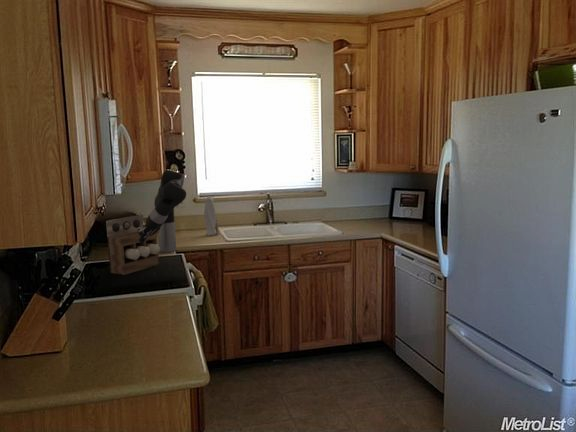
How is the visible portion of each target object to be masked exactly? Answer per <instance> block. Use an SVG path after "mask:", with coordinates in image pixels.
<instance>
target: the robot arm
mask: <svg viewBox="0 0 576 432" xmlns="http://www.w3.org/2000/svg"><path fill="white" fill-rule="evenodd" d="M184 181H185V176H184V174H183V173H181V172H178V171H173V170H169V169H167V170H164V171H163V172H162V175H161V178H160V185H159V186H158V187H159V188H158V191H157V194H156V196H155V197H154V202H153V203H154V208H153V209H152V210H151V211H150V213H149V215H148V216H147V217H146V219H145V223H144V226H143V228H142V229H140V228H139V229H138V233H139V235H140V236H141V237H140V239H139V241H140V242H141V243H143V242H144V241H145V240H146V238H148V237H149V236H152V235H153V234H155V233H156V232H159V234H158V235H157V241H158V245H159V247H160V251H159V252H161V253H173V252H176V251H177V241H176V240H177V238H176V226H175V225H176V224H175V208H176V207H177V206H179V205H180V204H181V203H182V202H184V200H185V199H186V197H187V191H186V190H185V189H184V188H183V185H184Z"/></svg>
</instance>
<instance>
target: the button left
mask: <svg viewBox="0 0 576 432" xmlns="http://www.w3.org/2000/svg"><path fill="white" fill-rule="evenodd" d="M139 256H140V252H139V250H137V249H129V248H125V249H124V258H127V259H135V260H136V259H138V258H139Z"/></svg>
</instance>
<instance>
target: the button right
mask: <svg viewBox="0 0 576 432" xmlns="http://www.w3.org/2000/svg"><path fill="white" fill-rule="evenodd" d="M146 247H149V249H150V254H158V255H159V252H161V251H160V247H159V244H158V243H157V244H148V243H146Z"/></svg>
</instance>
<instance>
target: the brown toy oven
mask: <svg viewBox="0 0 576 432" xmlns="http://www.w3.org/2000/svg"><path fill="white" fill-rule="evenodd" d="M105 223H106V224H105V225H106V236H107V250H108V261H109V273H110V274H116V275H122V276H125V275H129V274H132V273H135V272H138V271H141V270H145V269H146V270H147V269H149V268H152V266H153V267H155V266H158V265H159V263H160V262H159V253H158V254H149V256H147V257H143V256H139V258H138V259H136V260H135V259H127V258H124V249H125V248H129V249H136V246H144V247H146V243H148V244H157V245H158V235H157V232H158V231H157V232H156V233H155V234H153V235H152V236H149V237H148V238H146V240H145V241H144V242H143V243H141V242H140V241H139V239H140V237H141V236H140V235H139V233H138V229H139V228H140V229H142V228H143V226H144V225H145V223H144V214H138V215H132V216H126V217H120V218H115V219H109V220H106V221H105Z"/></svg>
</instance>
